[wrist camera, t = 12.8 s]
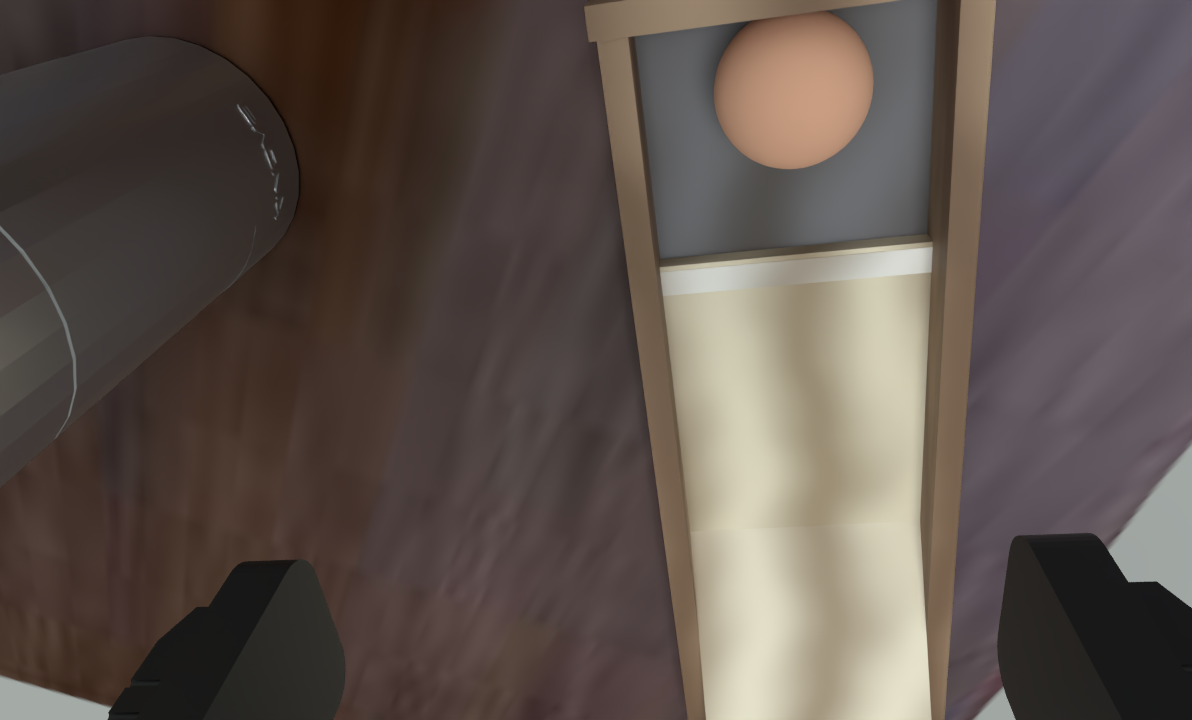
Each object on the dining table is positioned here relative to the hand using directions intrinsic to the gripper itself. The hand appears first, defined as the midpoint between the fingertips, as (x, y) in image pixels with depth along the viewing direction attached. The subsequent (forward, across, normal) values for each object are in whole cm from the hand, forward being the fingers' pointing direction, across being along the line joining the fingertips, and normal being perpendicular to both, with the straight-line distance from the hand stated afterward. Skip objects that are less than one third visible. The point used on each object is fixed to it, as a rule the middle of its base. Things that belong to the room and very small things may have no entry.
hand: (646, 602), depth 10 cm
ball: (+22, -4, -1) cm, 22 cm away
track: (+24, -4, +13) cm, 28 cm away
